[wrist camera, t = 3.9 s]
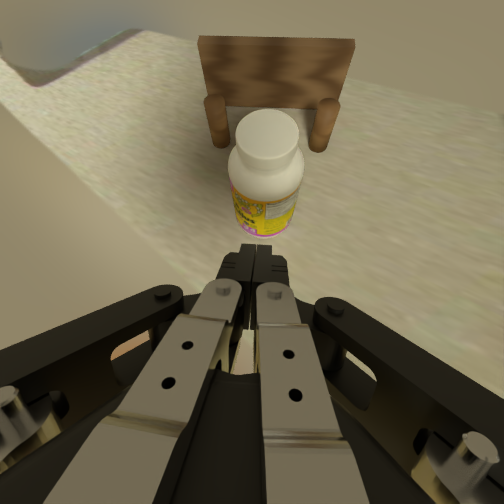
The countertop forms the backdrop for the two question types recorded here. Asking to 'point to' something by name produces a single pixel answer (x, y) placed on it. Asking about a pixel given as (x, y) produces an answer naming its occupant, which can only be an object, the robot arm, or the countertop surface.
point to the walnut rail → (275, 69)
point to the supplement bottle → (265, 172)
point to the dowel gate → (319, 134)
